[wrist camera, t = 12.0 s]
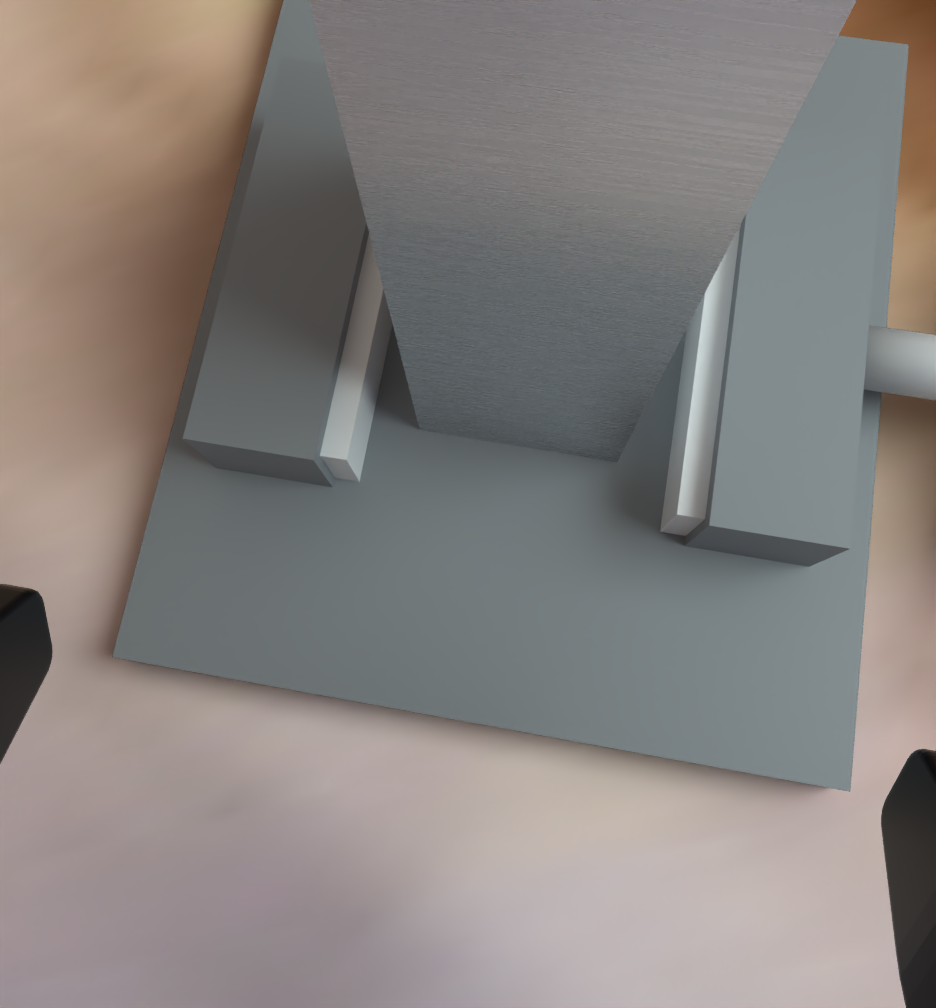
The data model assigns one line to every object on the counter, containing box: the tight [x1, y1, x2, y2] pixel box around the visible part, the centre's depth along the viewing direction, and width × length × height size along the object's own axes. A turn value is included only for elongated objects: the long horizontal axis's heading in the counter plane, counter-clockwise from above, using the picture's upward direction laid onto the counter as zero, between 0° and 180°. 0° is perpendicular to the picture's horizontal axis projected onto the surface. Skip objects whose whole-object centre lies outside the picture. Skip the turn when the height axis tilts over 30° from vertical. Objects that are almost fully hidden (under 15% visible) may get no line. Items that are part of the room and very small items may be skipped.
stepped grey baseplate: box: [112, 0, 936, 792], centre depth 18 cm, size 16×18×3 cm
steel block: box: [309, 0, 856, 462], centre depth 12 cm, size 5×4×12 cm
